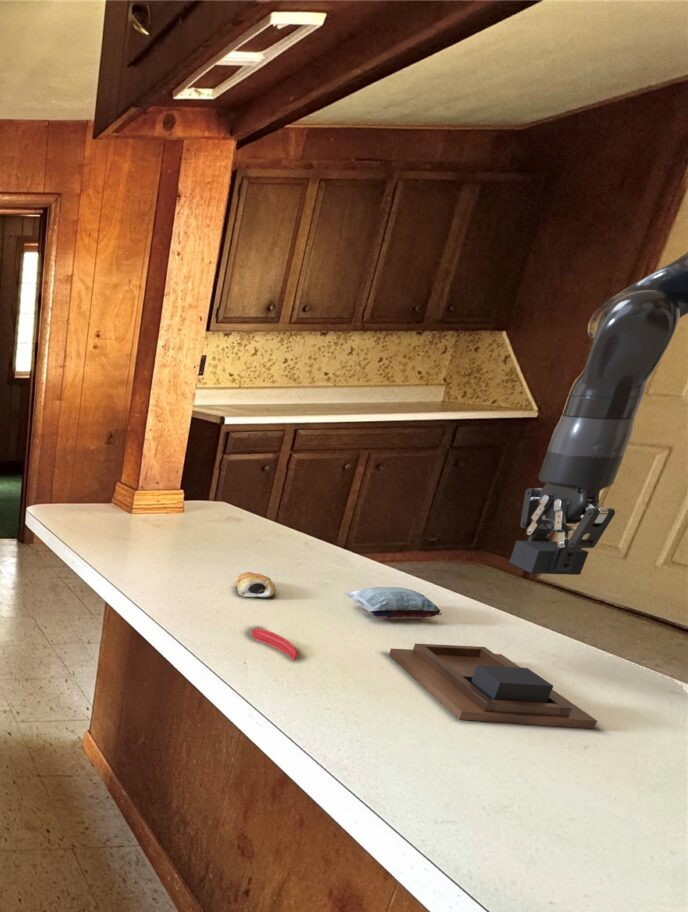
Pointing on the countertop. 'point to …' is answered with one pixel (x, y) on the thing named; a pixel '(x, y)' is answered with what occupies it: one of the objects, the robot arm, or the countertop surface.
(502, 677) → the dark grey block
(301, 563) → the countertop surface
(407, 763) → the countertop surface
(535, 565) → the dark gray block
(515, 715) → the brown base tray
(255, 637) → the cayenne pepper
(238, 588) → the pastry
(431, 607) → the packaged food
